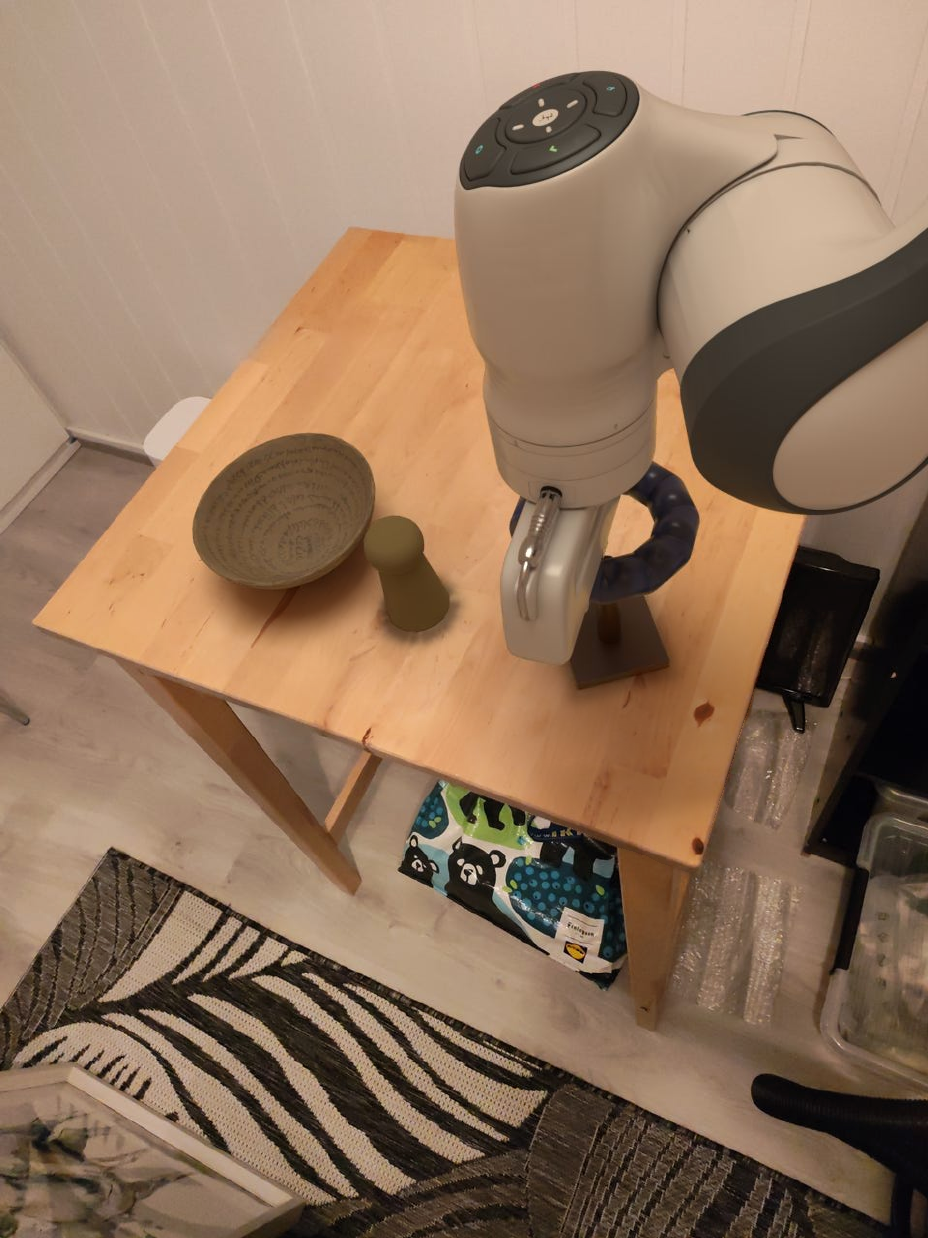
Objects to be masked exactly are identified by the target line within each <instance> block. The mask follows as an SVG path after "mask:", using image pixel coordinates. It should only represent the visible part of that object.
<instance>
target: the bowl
mask: <svg viewBox="0 0 928 1238" xmlns="http://www.w3.org/2000/svg"><path fill="white" fill-rule="evenodd" d="M375 504H376V483H375V477H374V473H373V470H372V468H371V466H370V463H369V462H368V460H367V459H366V457H365V456H364V454H363V453H362V452H361V451H360V450H359V449H358V448H357V447H356V446H355V445H353V444H351V443H349V442H347V441H346V440H344V439H342V438H341V437H340V438H339V437H338V436H334V435H331V434H326V433H321V432H320V433H319V432H318V433H317V432H301V433H294V434H293V433H292V434H287V435H283V436H282V435H281V436H279V437H276V438H273V439H272V438H271V439H269V440H266V441H265V442H262V443H260V444H258V445H255V446H253V447H252V448H250V449H248V450H247V451H244V452H243V453H242V454H240V455H239V456H238V457H236V458H234V460H232V461H231V462H230V463H228V464H226V466H225V467H224V468H223V469H222V470H221V471H220V472H219V473H218V474H217V475H216V476H214V478H213V479H212V480H211V481H210V483H209V484H208V486H207V487H206V489H205V491H204V492H203V494H202V495H201V498H200V499H199V502H198V505H197V507H196V510H195V513H194V515H193V516H194V517H193V520H192V528H191V529H192V542H193V545H194V548H195V550H196V552H197V555H198V556H199V558H200V560H201V561H202V562H203V563H204V564H205V565H206V566H207V568H209V570H210V571H212V572H213V573H215V574H216V575H218V576H219V577H221V578H223V579H225V580H227V581H229V582H231V583H233V584H236V585H240V586H243V587H248V588H252V589H259V590H260V589H261V590H280V589H283V590H284V589H289V588H290V589H291V588H295V587H299V586H302V585H305V584H308V583H310V582H313V581H316V580H318V579H320V578H321V577H324V576H325V575H327V574H329V573H330V572H332V571H334V569H336V568H337V567H339V566H340V565H341V564H342V563H343V562H345V560H346V559H348V558H349V556H350V555H352V554H353V552H354V550H355V549H356V548H357V547H358V546H359V544H360V543H361V541H362V540H363V538H364V537H365V535H366V533H367V531H368V529H369V526H370V524H371V521H372V519H373V514H374V510H375Z"/></svg>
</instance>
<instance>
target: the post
mask: <svg viewBox="0 0 928 1238" xmlns="http://www.w3.org/2000/svg"><path fill="white" fill-rule="evenodd" d="M613 557H614V556H612V555H604V558H603V560H605V559H609V558H613ZM670 661H671V660H670V657H669V655H668V653H667V650H666V648H665V645H664V643H663V640H662V638H661V635H660V632H659V630H658V628H657V624H656V622H655V620H654V618H653V615H652V613H651V610H650V607H649V604H648V603H647V600H646V598H645V595H644V596H640V597H636V598H632V599H628V600H623V601H619V602H615V603H611V604H606V605H602V604H595V603H590V604H589V607H588V611H587V612H585V614H584V617H583V621H582V624H581V627H580V630H579V634H578V637H577V640H576V643H575V647H574V650H573V653H572V656H571V658H570V659H569V661H568V664H569V667H570V670H571V674H572V676H573V680H574V683H575V686H576V689H577V690H578V691H579V690H582V689H586V688H591V687H595V686H598V685H603V684H606V683H610V682H613V681H618V680H622V679H625V678H630V677H634V676H637V675H641V674H645V673H649V672H653V671H656V670H662V669H665V668H668V667H670Z"/></svg>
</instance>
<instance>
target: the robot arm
mask: <svg viewBox="0 0 928 1238" xmlns="http://www.w3.org/2000/svg"><path fill="white" fill-rule="evenodd" d="M454 186H455V187H454V197H453V221H454V222H453V224H454V225H453V226H454V239H455V249H456V260H457V267H458V275H459V280H460V281H459V282H460V287H461V293H462V299H463V305H464V309H465V315H466V320H467V325H468V330H469V334H470V337H471V339H472V341H473V344H474V347H475V348H476V350H477V351H478V353H479V356H481V358H482V360H483V363H484V372H483V378H482V399H483V405H484V409H485V414H486V419H487V425H488V430H489V434H490V438H491V444H492V449H493V452H494V453H493V454H494V460H495V464H496V467H497V471H498V473H499V475H500V477H501V479H502V480H503V481H504V483H505V484H506V486H508V487H509V488H510V489H511V490H512V491H513V492H514V493H515V494H517V495H518V496H519V497H520V496H522V497H523V498H525V499H527V500H526V502H525V505H524V508H523V510H522V513H521V516H520V518H519V521H518V523H517V526H516V529H515V531H514V534H513V537H512V538H511V540H510V542H509V545H508V547H507V550H506V553H505V556H504V559H503V563H502V567H501V572H500V579H499V580H500V581H499V600H500V610H501V611H500V612H501V619H502V626H503V634H504V639H505V644H506V645H505V646H506V648H507V651H508V653H510V654H511V656H514V657H516V658H519V659H521V660H525V661H529V662H532V663H537V664H544V665H549V666H561V665H564V664H566V663H568V662H569V659H570V658H571V656H572V653H573V650H574V647H575V643H576V640H577V637H578V634H579V630H580V627H581V624H582V621H583V617H584V614H585V612H587V611H588V607H589V604H590V601H591V597H592V588H593V585H594V581H595V578H596V575H597V572H598V568H599V565H600V562H601V560H603V558H604V556H605V554H606V551H607V548H608V545H609V535H610V532H611V529H612V526H613V523H614V519H615V516H616V513H617V509H618V507H619V503H620V500H621V496H622V495H621V494H623V493H625V492H626V491H628V490H629V489H630V488H632V487H633V486H634V485H635V484H636V483H637V482H639V481H640V479H641V478H642V477H643V476H644V475H645V473H646V472H647V471H648V469H649V467H650V465H651V463H652V461H654V458H655V454H656V449H657V448H656V447H657V421H658V420H657V419H658V390H659V389H658V388H659V387H658V386H659V379H660V378H661V377H662V375H663V374H665V373H666V372H668V371H670V370H673V371H674V374H675V377H676V380H677V382H678V386H679V398H680V399H679V400H680V405H681V409H682V415H683V420H684V425H685V429H686V430H685V431H686V435H687V440H688V445H689V450H690V455H691V459H692V461H693V464H694V467H695V468H696V470H697V471H698V473H699V474H700V476H702V478H703V479H704V480H705V481H706V482H708V483H709V484H710V485H711V486H713V487H714V488H715V489H717V490H719V491H721V492H723V493H724V494H726V495H728V496H730V497H732V498H734V499H736V500H738V501H741V502H743V503H746V504H749V505H752V506H754V507H757V508H761V509H764V510H768V511H772V512H777V513H783V514H790V515H802V516H827V515H835V514H840V513H841V514H842V513H844V512H849V511H854V510H856V509H859V508H861V507H864V506H865V507H866V506H867V505H870V504H872V503H874V502H876V501H878V500H880V499H882V498H884V497H886V496H888V495H890V494H891V493H893V492H894V491H896V490H898V489H899V488H901V487H902V486H904V485H905V484H906V483H908V482H909V481H911V480H912V479H913V478H914V477H916V476H917V475H918V474H919V473H920V472H921V471H922V470H924V469H925V468H926V467H927V466H928V194H927V195H926V196H925V198H923V200H922V201H921V202H920V203H919V204H918V206H916V208H914V210H913V211H912V212H911V213H910V214H909V215H908V216H907V217H906V218H904V220H903V221H902V222H900V223H899V224H897V226H895V224H894V222H893V221H892V220H891V218H890V217H889V215H888V214H887V212H886V211H885V209H884V208H883V206H882V203H881V201H880V199H879V196H878V194H877V192H876V191H875V189H874V188H873V187H872V185H871V183H870V182H869V181H868V180H867V178H866V177H865V175H864V173H863V172H862V171H861V170H860V168H859V166H858V164H857V163H856V162H855V161H854V159H853V158H852V156H851V155H850V153H849V152H848V151H847V149H846V148H845V146H844V145H843V144H842V143H841V141H839V139H838V138H837V137H836V136H835V135H834V133H833V132H832V131H831V130H830V129H829V128H828V127H827V126H825V125H824V124H823V123H821V121H818V120H816V119H815V118H813V117H811V116H808V115H806V114H803V113H800V112H796V111H790V110H784V109H782V110H781V109H766V110H765V109H764V110H758V111H752V112H748V113H744V114H740V115H734V114H723V113H722V114H721V113H712V112H707V111H703V110H697V109H692V108H689V107H685V106H681V105H679V104H676V103H672V102H669V101H668V100H665V99H663V98H661V97H659V96H657V95H655V94H653V93H651V92H650V91H648V90H647V89H646V88H645V87H643V86H642V85H641V84H640V83H638V82H637V81H635V80H634V79H632V78H631V77H629V76H627V75H624V74H622V73H618V72H614V71H609V70H587V71H580V72H579V71H577V72H576V71H575V72H569V73H565V74H561V75H557V76H553V77H551V78H548V79H545V80H543V81H540V82H538V83H536V84H534V85H531V86H529V87H528V88H526V89H524V90H522V91H520V92H519V93H516V94H515V95H514V96H512V97H511V98H509V99H508V100H506V101H505V102H504V103H502V104H501V105H500V106H499V107H498V108H497V110H495V111H494V112H493V113H492V114H491V115H490V116H489V117H487V118H486V119H485V121H484V122H483V123H482V124H481V125H480V126H479V127H478V128H477V130H476V131H475V133H473V136H472V137H471V139H470V140H469V141H468V144H467V146H466V148H465V150H464V152H463V153H462V157H461V159H460V162H459V167H458V171H457V175H456V180H455V185H454Z"/></svg>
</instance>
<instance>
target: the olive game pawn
mask: <svg viewBox="0 0 928 1238" xmlns="http://www.w3.org/2000/svg"><path fill="white" fill-rule="evenodd" d="M363 538H364V539H363V541H362V542H363V553H364V556H365V557H366V559H367V562H368V563H369V565H370V566H372V568H374V569H375V570H376V571H377V573H378V577H379V581H380V587H381V590H382V594H383V598H384V602H385V608H386V611H387V616H388V618H389V620H390V622H391V623H392V624H393V625H394V626H395V627H397V629H400V630H402V631H405V632H413V633H414V632H415V633H417V632H422V631H426V630H429V629H431V628H433V627H435V626H437V624H439V623H440V622H441V621H442V620H443V619H444V617H445V616H446V614H448V613H447V612H448V611H449V607H450V596H449V592H448V591H447V589H446V588H445V586H444V585H443V583H442V581H441V580H440V578H439V576H438V575H437V573H436V571H435V569H434V568H433V566H432V565H431V562H430V561H429V559H428V558H427V557H426V555H425V553H424V551H425V539H424V534H423V532H422V530H421V529H420V527H419V525H418V524H417V523H416V522H414V521H413V520H412V519H410V518H408V517H406V516H402V515H388V516H384V517H382V518H379V519H377V520H376V521H374V522H373V523H372V524H371V525H370V527H368V528H367V531H366V533H365V535H364V537H363Z"/></svg>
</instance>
